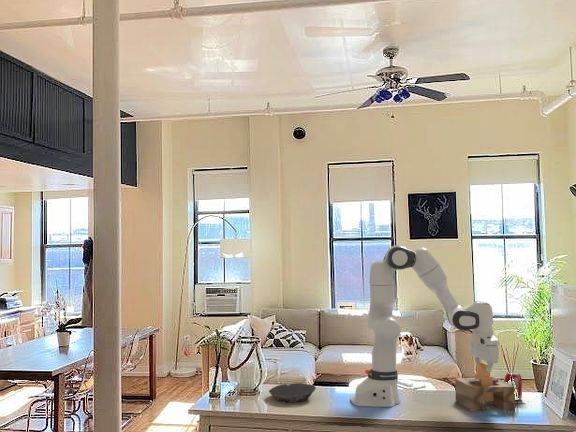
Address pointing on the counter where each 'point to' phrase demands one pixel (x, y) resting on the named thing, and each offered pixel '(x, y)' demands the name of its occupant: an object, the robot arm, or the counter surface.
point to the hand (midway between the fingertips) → (483, 369)
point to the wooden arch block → (474, 394)
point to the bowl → (292, 392)
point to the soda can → (517, 381)
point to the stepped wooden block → (484, 380)
